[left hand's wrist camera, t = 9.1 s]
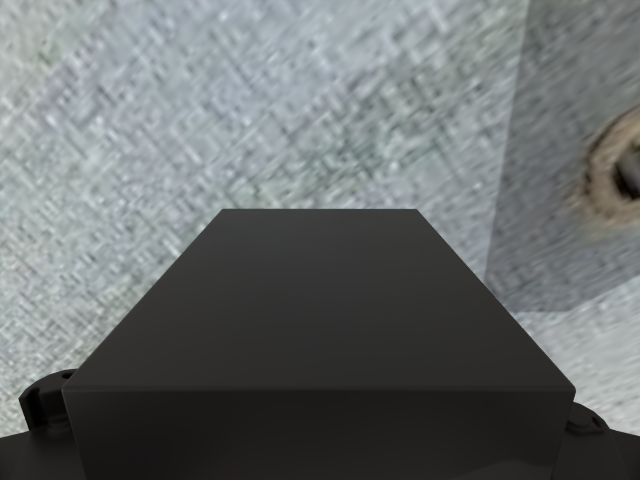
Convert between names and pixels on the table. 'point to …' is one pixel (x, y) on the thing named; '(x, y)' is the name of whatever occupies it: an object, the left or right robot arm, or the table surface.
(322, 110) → the table surface
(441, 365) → the box
